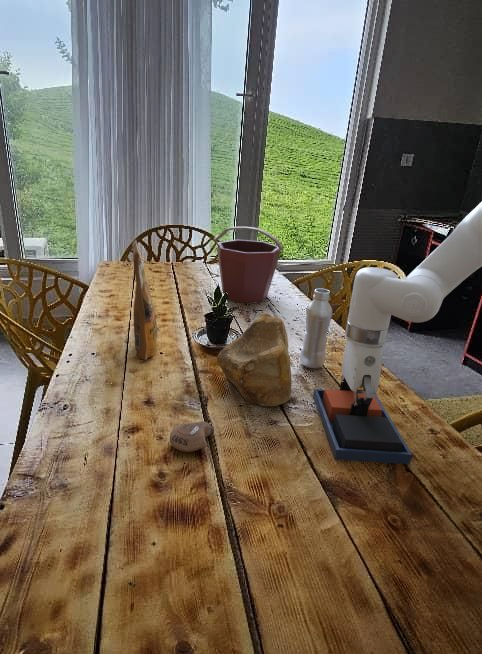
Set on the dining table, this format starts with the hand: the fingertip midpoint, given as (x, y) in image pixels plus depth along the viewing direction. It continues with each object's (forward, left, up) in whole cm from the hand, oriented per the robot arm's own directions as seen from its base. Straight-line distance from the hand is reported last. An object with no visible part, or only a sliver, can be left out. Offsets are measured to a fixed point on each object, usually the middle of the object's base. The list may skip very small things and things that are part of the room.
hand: (351, 409), depth 92 cm
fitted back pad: (0, +10, -1) cm, 10 cm away
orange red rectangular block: (0, 0, -1) cm, 1 cm away
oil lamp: (+32, +12, -2) cm, 34 cm away
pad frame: (0, +4, -2) cm, 5 cm away
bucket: (+19, -78, -2) cm, 80 cm away
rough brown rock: (+20, -11, -2) cm, 23 cm away
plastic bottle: (+4, -23, -2) cm, 23 cm away
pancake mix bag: (+48, -28, -2) cm, 55 cm away
